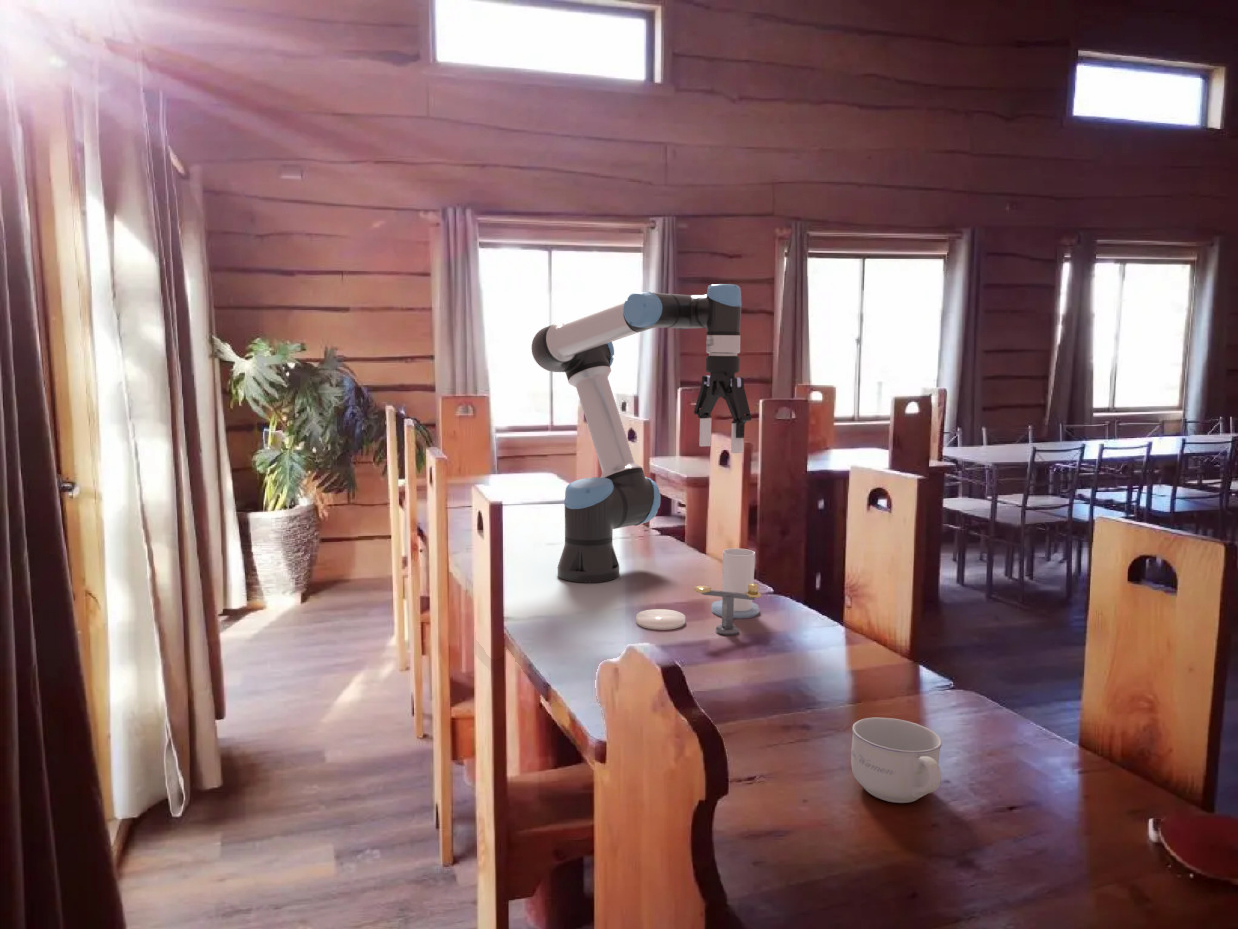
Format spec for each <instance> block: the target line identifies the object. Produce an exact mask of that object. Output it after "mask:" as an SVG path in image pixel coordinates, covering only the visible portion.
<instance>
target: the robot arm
mask: <svg viewBox="0 0 1238 929" xmlns="http://www.w3.org/2000/svg"><path fill="white" fill-rule="evenodd" d="M742 304H743V303H742V290H741V287H740V286H739V285H737V284H730V283H728V284H727V283H725V284H724V283H718V284H710V285H708V286H707V292H706V294H678V293H676V294H674V293H663V292H651V291H638V292H633V293H631V294H630V295H629V296H628V297H627V298H626V299H625V301H624V302H622V303H619V304H617V305H613V306H610V307H608V308H605V309H603V310H600V311H597V312H594V313H592V314H589V315H586V316H584V317H582V318H579V319H577V320H573V321H571V322H568V323H566V324H564V323H562V322H557V323H554V324H551V325H548V326H545V327H543V328H541V329H540V330H538V332H537V333H535V335H534V337H533V339H532V341H531V342H532V343H531V354H532V357H533V360H534V361H535V362H536V364H537V365H538V366H539V367H541V368H542V369H543V370H545V371H548V372H553V373H565V375H566V378H567V382H568V384H569V385H571V386H573V387H575V388H576V391H577V395H578V398H579V401H580V403H581V408H582V410H583V414H584V417H585V420H586V423H587V427H588V430H589V433H590V436H591V440H592V443H593V446H594V450H595V453H596V456H597V459H598V463H599V466H600V469H601V475H600V476H599V477H591V478H589V477H587V478H586V477H585V478H581V479H577V480H574V481H572V482H571V483H568V485H567V486H566V487H565V491H564V492H565V494H564V500H563V504H564V545H563V549H562V553H561V554H560V559H559V560H558V561H559V562H558V563H557V576H558V577H559V579H562V580H564V581H569V582H574V583H585V584H586V583H591V584H592V583H602V582H609V581H613V580H615V579H617V578H619V577H620V563H619V560H618V557H617V554H616V550H615V548H614V545H613V535H614V534H613V533H614V532H613V530H615V529H621V528H626V527H631V526H635V527H636V526H640V525H642V524H644V523H648V522H650V521H651V520H653V519H654V518H655V517H656V515H657V514H658V510H659V508H660V506H661V498H662V497H661V492H660V488H659V486H658V484H657V482H656V481H655V480H653V479H652V478H650V477H646V475H645V472H644V469H643V467H642V466H641V465H639V464H637V463H635V460H634V457H633V454H632V451H631V447H630V444H629V441H628V438H627V434H626V431H625V428H624V425H623V422H622V419H621V416H620V412H619V409H618V406H617V402H616V399H615V397H614V393H613V390H612V388H611V384H610V381H609V375H610V373H611V372H612V369H611V366H612V365H613V361H614V357H613V356H614V355H615V348H614V345H613V342H615V341H618V340H621V339H624V338H626V337H629V336H632V335H635V334H638V333H642V332H644V331H648V330H651V329H655V328H659V329H660V328H663V329H666V328H669V329H671V328H672V329H677V330H687V329H706V340H705V343H706V350H705V351H706V353H707V354H708V355H706V357H705V371H706V372H707V373H710V375H702V377H701V385H700V390H699V392H698V396H697V398H696V404H695V407H694V410H693V413H694V414H693V415H697V417H698V419H699V428H698V429H699V438H698V439H699V441H698V442H699V447H701V448H702V447H711V446H712V421H713V420H712V412H713V410H714V408H715V406H716V404H717V402H718V400H719V399H720V398H722V399H724V401H725V403H726V405H727V407H728V410H729V413H730V414H731V415H730V416H731V417H732V421H731V437H730V438H731V439H730V440H731V441H730V453H732V454H739V453H740V454H741V453H744V443H745V442H744V437H745V427H746V426H745V424H746V423H747V422H749V421H752V414H751V410H750V407H749V401H748V398H747V395H746V390H745V379H744V377H735V375H736V374H737V373H739V372H740V369H741V368H740V362H741V359H740V358H741V357H740V356H738V354H740V353H741V319H742V306H743V305H742Z"/></svg>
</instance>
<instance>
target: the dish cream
mask: <svg viewBox="0 0 1238 929" xmlns="http://www.w3.org/2000/svg"><path fill="white" fill-rule="evenodd" d="M635 623H636V624H637V625H638V626H640V627H642V628H645V629H649V630H655V631H656V630H657V631H658V630H659V631H662V630H663V631H665V630H674V629H676V630H677V629H680V628H682V627H683V626H685V625H686V615H685V614H684V613H682V612H680V611H677V610H675V609H674V610H672V609H665V608H655V609H654V608H653V609H652V608H651V609H646V610H641V611H639V612H638V613H637V614H636V616H635Z"/></svg>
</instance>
